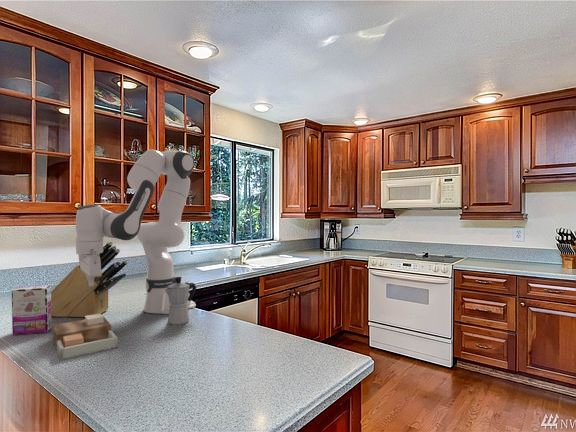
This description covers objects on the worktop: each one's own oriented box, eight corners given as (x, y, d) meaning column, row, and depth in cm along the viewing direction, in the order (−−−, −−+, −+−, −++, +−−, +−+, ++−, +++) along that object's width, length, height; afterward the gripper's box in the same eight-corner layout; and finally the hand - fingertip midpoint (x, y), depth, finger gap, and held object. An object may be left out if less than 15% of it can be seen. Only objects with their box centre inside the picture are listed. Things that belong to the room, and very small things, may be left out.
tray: (111, 339, 126) (111, 330, 126) (117, 347, 119) (117, 337, 118) (57, 350, 116) (56, 340, 116) (60, 359, 109) (60, 349, 109)
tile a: (100, 318, 132) (100, 313, 132) (103, 322, 128) (103, 316, 128) (85, 321, 129) (85, 316, 129) (87, 325, 125) (87, 319, 125)
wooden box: (103, 329, 135) (103, 316, 135) (111, 339, 126) (111, 324, 125) (52, 339, 125) (52, 325, 125) (57, 350, 116) (56, 334, 116)
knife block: (116, 319, 148) (115, 243, 147) (32, 317, 149) (31, 242, 148) (129, 311, 159) (129, 240, 158) (51, 309, 160) (50, 240, 159)
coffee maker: (171, 327, 138) (171, 280, 137) (158, 323, 143) (158, 278, 142) (202, 318, 150) (202, 275, 149) (189, 314, 155) (189, 272, 154)
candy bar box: (52, 328, 136) (52, 285, 136) (47, 333, 131) (47, 288, 131) (17, 330, 133) (17, 286, 133) (11, 335, 128) (10, 289, 128)
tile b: (81, 339, 118) (80, 333, 118) (83, 344, 114) (83, 337, 114) (63, 342, 115) (63, 336, 115) (65, 347, 111) (65, 341, 111)
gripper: (105, 250, 127) (106, 289, 128) (93, 245, 143) (94, 279, 144) (85, 252, 123) (85, 292, 124) (75, 246, 139) (76, 281, 140)
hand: (90, 285), depth 134 cm, fingers closed
